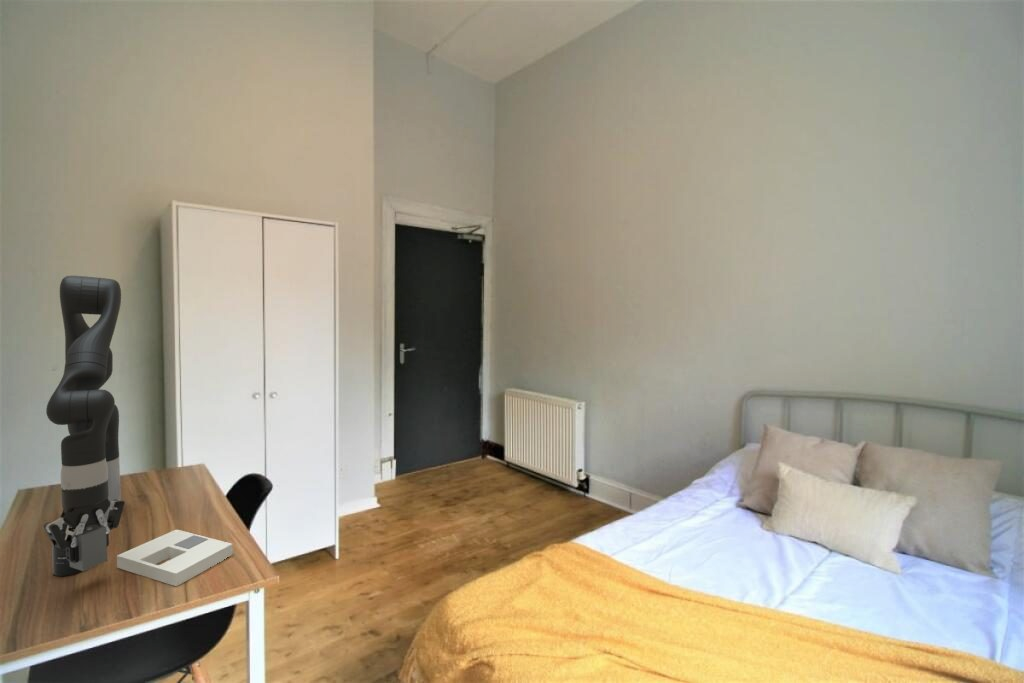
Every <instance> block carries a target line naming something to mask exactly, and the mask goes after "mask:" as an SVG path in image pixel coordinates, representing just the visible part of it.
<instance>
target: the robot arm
mask: <svg viewBox="0 0 1024 683" xmlns="http://www.w3.org/2000/svg"><path fill="white" fill-rule="evenodd" d="M59 300H60V308H61V315H62V321H63V327H64V338H65V340H64V342H65V343H64V344H65V345H64V346H65V347H64V349H65V350H64V351H65V352H64V354H65V356H64V357H65V358H64V359H65V364H64V371H63V375H62V377H61V379H60V381H59V383H58V385H57V387H56V388H55V390H54V391H53V393H52V394H51V396H50V398H49V400H48V402H47V404H46V416H47V419H48V420H49V421H50V423H51V422H52V423H53V424H55V425H56V426H57V425H59V426H66V425H67V431H68V433H69V435H66V436H65V437H63V439H62V440H61V442H60V456H61V458H60V459H61V469H60V491H61V492H60V493H61V494H60V495H61V507H62V513H61V514H60V515H59V516H60V517H59V518H57V519H56V520H54V521H51V522H50V521H49V522H46V523H45V524H44V525H43V528H44V531H45V532H46V534H47V536H48V538H49V541H50V543H51V545H52V544H53V546H55V547H59V548H61V549H64V548H66V559H67V560H68V561H70V562H72V563H76V562H79V547H78V546H77V544H78V541H79V540H78V536H79V535H81V534H82V533H83V530H84V528H86V527H88V526H90V525H97V526H101V527H102V526H106V543H107V548H108V547H109V544H110V540H109V539H110V537H109V536H110V534H109V533H110V532H111V530H113V529H116V528H118V527H119V524H120V522H121V517H122V515H123V511H124V506H125V501H123V500H122V496H121V495H122V494H121V493H122V492H121V470H120V469H121V468H120V467H121V466H120V448H119V446H120V445H119V444H120V443H119V430H120V429H119V428H120V414H119V413H120V412H119V409H118V406H117V405H116V404H115V398H114V396H113V394H112V393H111V392H110V391H108V390H107V389H102V387H103V386H104V385H105V384H106V382H108V380H110V378H111V376H112V374H113V364H114V363H113V362H114V361H113V360H114V359H113V351H112V349H111V348H110V346H111V342H112V339H113V335H114V332H115V329H116V326H117V323H118V322H117V321H118V317H119V315H120V314H119V313H120V310H121V309H120V308H121V304H122V303H121V302H122V289H121V285H120V283H119V282H118V281H117V280H115V279H113V278H107V277H106V278H105V277H98V276H97V277H95V276H86V275H85V276H84V275H83V276H82V275H66V276H65V277H63V278H62V279H61V282H60V284H59ZM83 315H97V316H98V315H100V317H99V318H98V319H97V321H96V322H95V323H93V325H91V327H90V326H89V324H88V323H87V322H86V320H85V318H84V316H83ZM64 522H65V523H66V524H68V526H67V529H66V537H65V539H64V537H63V535H62V533H61V531H60V530H62V524H63V523H64ZM75 529H76V530H75Z"/></svg>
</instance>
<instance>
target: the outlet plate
mask: <svg viewBox="0 0 1024 683" xmlns="http://www.w3.org/2000/svg"><path fill="white" fill-rule="evenodd" d="M233 551H234V550H233V543H230V542H227V541H223V540H220V539H215V538H211V537H207V536H204V535H199V534H196V533H191V532H188V531H184V530H181V529H175V530H172V531H169V532H168V533H165V534H162V535H160V536H157V537H156V538H154V539H153V538H152V540H149V541H147V542H145V543H142V544H140V545H138V546H136V547H134V548H131V549H129V550H126V551H124V552H122V553H119V554H117V555H116V568H117V569H121V570H124V571H127V572H130V573H133V574H136V575H139V576H142V577H145V578H147V579H148V578H149V579H152V580H155V581H158V582H162V583H165V584H167V585H171V586H174V587H179V586H180V585H182V584H183V583H186V582H188V581H189V580H191V579H192V578H194V577H196V576H198V575H200V574H202V573H203V572H205V571H207V570H209V569H211V568H213V567H214V566H216V565H218V564H220V563H221V562H223V561H225V560H227V559H228V558H227V557H229V556H231V555H232V556H233V553H234V552H233ZM232 556H231V557H232ZM226 558H227V559H226ZM229 558H230V557H229ZM168 559H169V560H168ZM224 559H225V560H224ZM166 560H167V561H166ZM163 561H165V562H163ZM161 562H163V563H161ZM219 562H220V563H219ZM159 563H161V564H159ZM217 563H218V564H217ZM210 567H211V568H210Z"/></svg>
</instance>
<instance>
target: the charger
mask: <svg viewBox="0 0 1024 683" xmlns="http://www.w3.org/2000/svg"><path fill="white" fill-rule="evenodd" d="M75 530H76V529H75ZM78 540H79V541H78V544H77V546H78V547H79V562H76V563H72V562H70V567H72V568H75V569H78V570H81V571H82V572H84V571H87V570H89V569H92V568H93V567H96V566H98V565H101V564H103V563H104V562H107V561H108V547H107V543H106V526H102V527H101V526H97V525H90V526H88V527H86V528H84V530H83V533H82V534H81V535H79V536H78Z"/></svg>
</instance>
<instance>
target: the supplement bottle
mask: <svg viewBox="0 0 1024 683" xmlns="http://www.w3.org/2000/svg"><path fill="white" fill-rule="evenodd" d="M67 526H68V524H66V523H65V522H64V523H63V524H62V530H60V531H61V533H62V535H63V537H64V539H65V537H66V529H67ZM51 545H52V547H51V548H52V550H51V553H52V573H53V575H55V576H56V577H57V576H58V577H66V576H72V575H76V574H79V573H81V572H83V571H81V570H78V569H75V568H72V567H70V561H68V560H67V559H66V548H64V549H61V548H59V547H55V546H53V544H52V543H51Z"/></svg>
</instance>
